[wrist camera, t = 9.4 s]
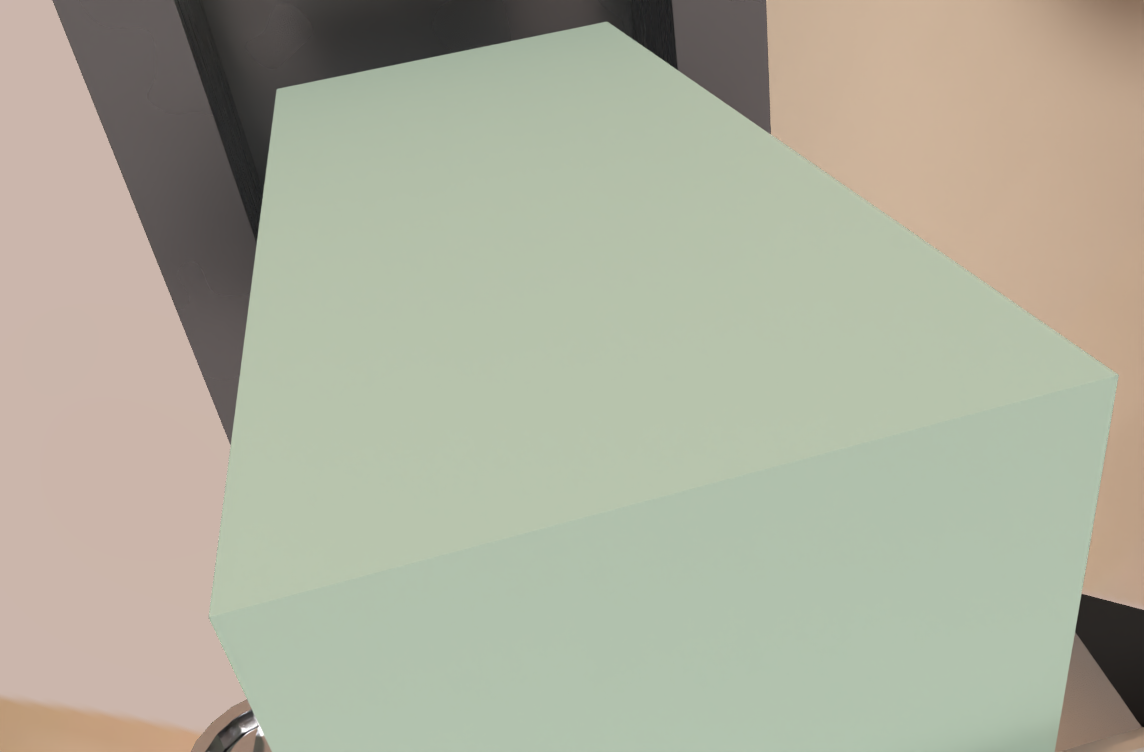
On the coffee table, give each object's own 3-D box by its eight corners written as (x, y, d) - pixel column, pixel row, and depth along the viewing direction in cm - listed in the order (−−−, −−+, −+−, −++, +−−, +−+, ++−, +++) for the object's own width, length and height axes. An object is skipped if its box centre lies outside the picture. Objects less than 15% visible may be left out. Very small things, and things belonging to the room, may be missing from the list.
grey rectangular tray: (-7, -214, 12) (-94, -220, 9) (703, -326, 13) (798, -359, 10) (342, 684, 20) (346, 810, 18) (755, 571, 21) (814, 675, 19)
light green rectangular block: (276, 89, 10) (207, 618, 3) (607, 21, 11) (1118, 376, 4) (467, 721, 15) (591, 1427, 9) (685, 658, 16) (964, 1285, 9)
